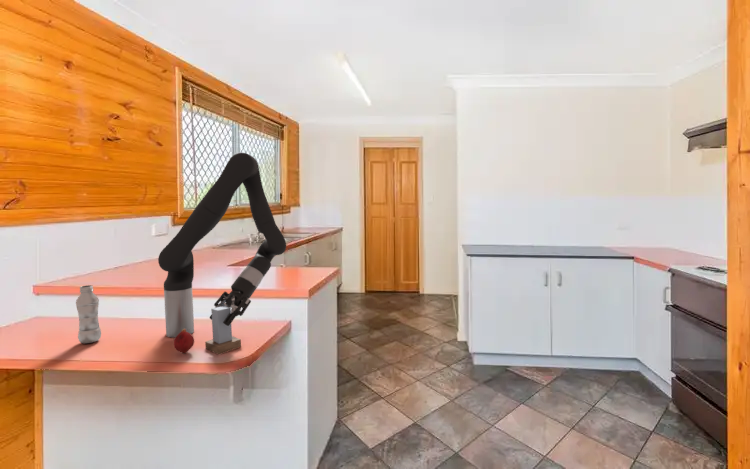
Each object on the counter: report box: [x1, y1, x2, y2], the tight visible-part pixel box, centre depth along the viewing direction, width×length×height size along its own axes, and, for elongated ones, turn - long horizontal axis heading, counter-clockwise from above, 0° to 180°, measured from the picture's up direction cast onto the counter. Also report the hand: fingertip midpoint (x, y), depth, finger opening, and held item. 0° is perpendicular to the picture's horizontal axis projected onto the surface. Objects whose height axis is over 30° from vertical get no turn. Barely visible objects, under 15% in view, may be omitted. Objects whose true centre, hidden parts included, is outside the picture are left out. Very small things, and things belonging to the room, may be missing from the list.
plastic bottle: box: [75, 284, 102, 344], centre depth 126 cm, size 6×7×20 cm
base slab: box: [204, 335, 242, 355], centre depth 121 cm, size 8×8×3 cm
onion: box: [173, 329, 195, 354], centre depth 116 cm, size 6×6×8 cm
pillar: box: [211, 306, 233, 344], centre depth 120 cm, size 4×4×11 cm
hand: (218, 322), depth 119 cm, fingers open, 8 cm apart
